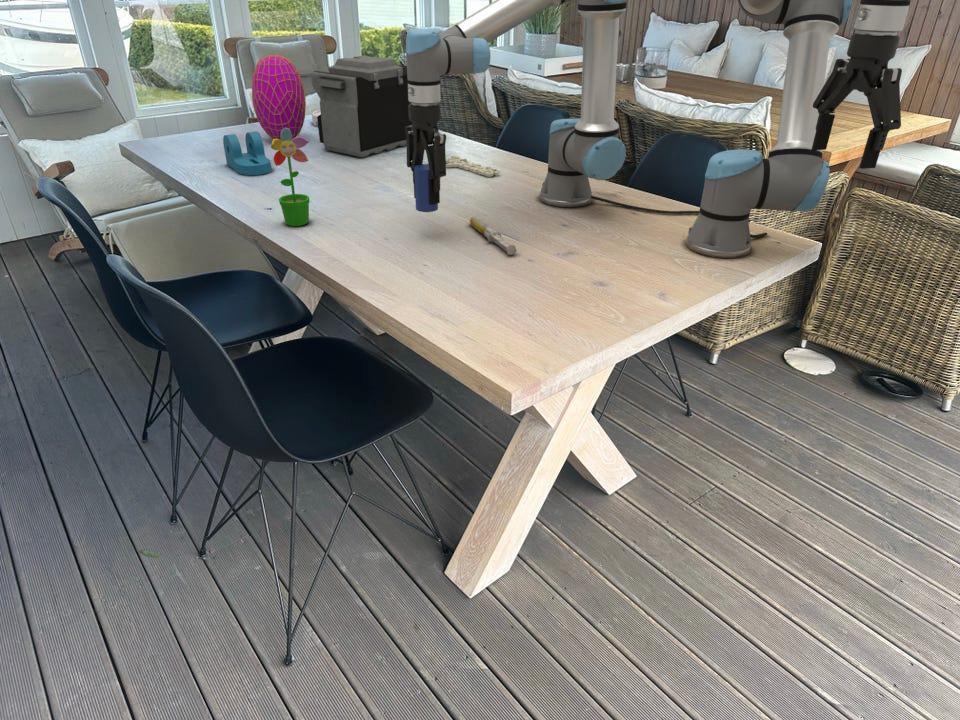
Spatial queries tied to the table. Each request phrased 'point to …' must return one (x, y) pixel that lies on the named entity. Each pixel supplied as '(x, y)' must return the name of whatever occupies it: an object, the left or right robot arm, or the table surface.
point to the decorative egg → (278, 96)
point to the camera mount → (246, 154)
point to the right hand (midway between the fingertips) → (841, 158)
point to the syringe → (492, 235)
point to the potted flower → (291, 178)
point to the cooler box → (362, 105)
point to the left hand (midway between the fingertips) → (426, 200)
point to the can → (423, 189)
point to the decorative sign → (470, 166)
